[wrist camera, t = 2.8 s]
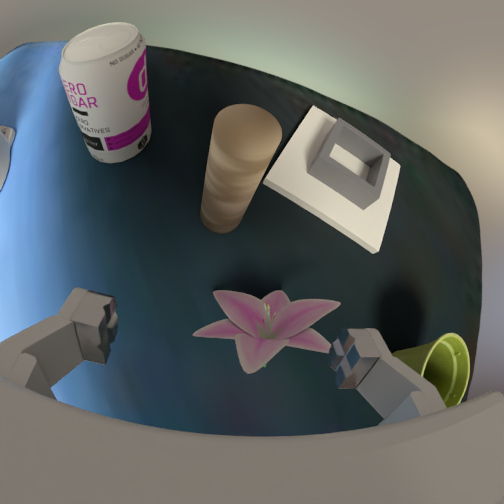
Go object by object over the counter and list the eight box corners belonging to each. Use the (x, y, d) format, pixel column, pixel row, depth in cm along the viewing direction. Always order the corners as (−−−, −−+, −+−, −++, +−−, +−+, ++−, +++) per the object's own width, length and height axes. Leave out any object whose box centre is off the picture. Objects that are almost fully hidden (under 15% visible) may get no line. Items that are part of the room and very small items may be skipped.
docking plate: (262, 183, 32) (274, 160, 27) (309, 110, 37) (322, 89, 33) (373, 253, 33) (396, 242, 28) (395, 169, 38) (414, 154, 34)
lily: (327, 317, 30) (352, 259, 23) (310, 419, 22) (342, 392, 15) (224, 295, 32) (219, 232, 25) (187, 388, 24) (162, 348, 17)
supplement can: (157, 115, 31) (155, 17, 17) (144, 167, 29) (128, 61, 15) (99, 116, 30) (78, 25, 16) (81, 167, 27) (39, 73, 13)
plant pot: (416, 328, 31) (466, 321, 23) (423, 391, 29) (471, 396, 21) (362, 350, 29) (415, 351, 21) (372, 420, 27) (421, 436, 19)
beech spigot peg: (192, 219, 29) (199, 132, 16) (214, 188, 30) (235, 95, 17) (228, 241, 29) (263, 167, 16) (248, 208, 30) (292, 124, 17)
